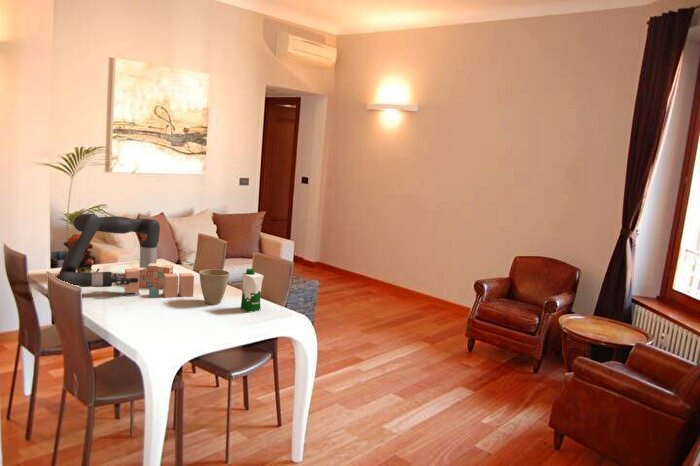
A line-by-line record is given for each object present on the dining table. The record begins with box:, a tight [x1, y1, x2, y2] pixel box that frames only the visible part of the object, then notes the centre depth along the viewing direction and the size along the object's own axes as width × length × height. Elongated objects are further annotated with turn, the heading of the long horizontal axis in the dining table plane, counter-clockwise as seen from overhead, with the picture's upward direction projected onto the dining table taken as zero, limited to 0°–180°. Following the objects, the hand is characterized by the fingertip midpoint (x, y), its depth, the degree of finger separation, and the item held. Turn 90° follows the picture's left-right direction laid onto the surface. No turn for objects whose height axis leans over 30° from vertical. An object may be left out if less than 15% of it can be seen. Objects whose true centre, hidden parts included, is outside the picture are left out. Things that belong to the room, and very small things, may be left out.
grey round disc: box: [122, 291, 141, 297], centre depth 283 cm, size 8×8×1 cm
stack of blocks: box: [131, 263, 174, 290], centre depth 300 cm, size 21×6×12 cm, turn 89°
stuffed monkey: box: [63, 233, 101, 273], centre depth 304 cm, size 15×17×25 cm
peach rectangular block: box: [178, 272, 195, 298], centre depth 289 cm, size 6×6×11 cm
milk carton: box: [240, 268, 265, 312], centre depth 275 cm, size 9×9×20 cm
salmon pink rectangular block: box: [123, 268, 140, 293], centre depth 282 cm, size 6×6×11 cm
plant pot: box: [198, 268, 230, 306], centre depth 280 cm, size 15×15×16 cm
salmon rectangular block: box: [162, 273, 179, 299], centre depth 286 cm, size 6×6×11 cm
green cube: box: [148, 287, 160, 299], centre depth 282 cm, size 4×4×4 cm
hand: (136, 278), depth 283 cm, fingers closed on salmon pink rectangular block, 6 cm apart
